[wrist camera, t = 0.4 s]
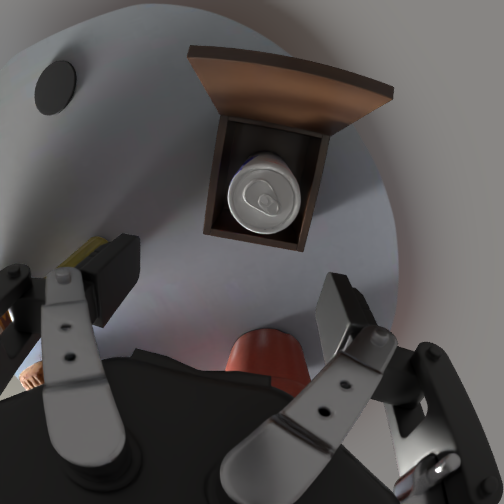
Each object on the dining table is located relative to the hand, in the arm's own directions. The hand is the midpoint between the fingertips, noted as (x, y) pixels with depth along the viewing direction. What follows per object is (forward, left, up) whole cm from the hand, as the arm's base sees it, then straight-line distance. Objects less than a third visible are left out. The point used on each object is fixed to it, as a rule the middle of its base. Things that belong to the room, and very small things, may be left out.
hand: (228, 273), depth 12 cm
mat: (-11, -33, -26) cm, 43 cm away
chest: (-1, +1, -26) cm, 26 cm away
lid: (-8, +1, -10) cm, 13 cm away
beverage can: (-1, +1, -26) cm, 26 cm away
